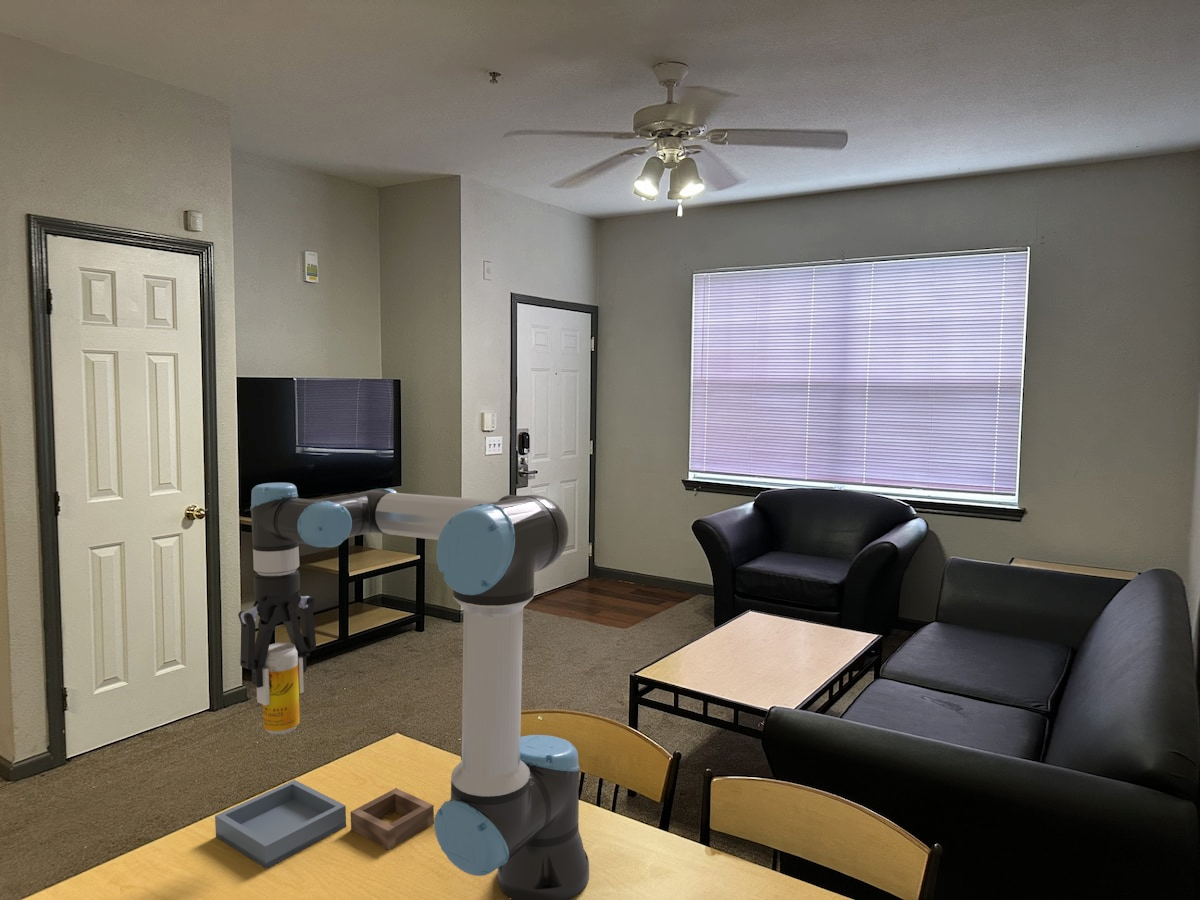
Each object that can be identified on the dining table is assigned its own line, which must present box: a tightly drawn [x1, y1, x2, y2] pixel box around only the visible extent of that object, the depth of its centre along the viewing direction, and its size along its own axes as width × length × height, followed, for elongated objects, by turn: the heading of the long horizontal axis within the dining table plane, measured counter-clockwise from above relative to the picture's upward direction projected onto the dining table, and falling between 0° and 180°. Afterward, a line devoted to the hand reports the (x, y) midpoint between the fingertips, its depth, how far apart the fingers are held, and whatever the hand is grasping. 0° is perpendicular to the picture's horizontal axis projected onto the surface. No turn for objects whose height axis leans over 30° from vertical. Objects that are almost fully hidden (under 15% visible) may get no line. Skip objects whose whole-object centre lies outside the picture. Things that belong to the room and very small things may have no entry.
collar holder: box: [350, 787, 435, 851], centre depth 150 cm, size 10×10×4 cm
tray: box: [214, 779, 347, 870], centre depth 148 cm, size 16×16×4 cm
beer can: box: [262, 642, 301, 735], centre depth 146 cm, size 6×6×15 cm
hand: (280, 696), depth 146 cm, fingers closed on beer can, 6 cm apart
